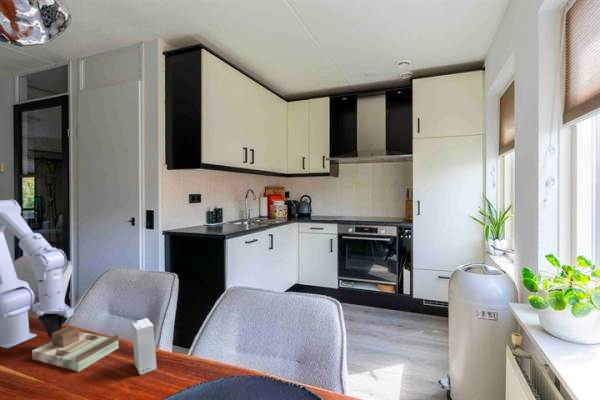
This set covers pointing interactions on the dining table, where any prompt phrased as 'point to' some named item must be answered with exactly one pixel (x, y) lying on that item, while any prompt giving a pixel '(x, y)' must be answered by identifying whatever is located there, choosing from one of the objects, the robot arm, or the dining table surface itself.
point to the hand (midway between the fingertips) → (54, 336)
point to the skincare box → (144, 345)
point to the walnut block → (65, 336)
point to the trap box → (77, 351)
